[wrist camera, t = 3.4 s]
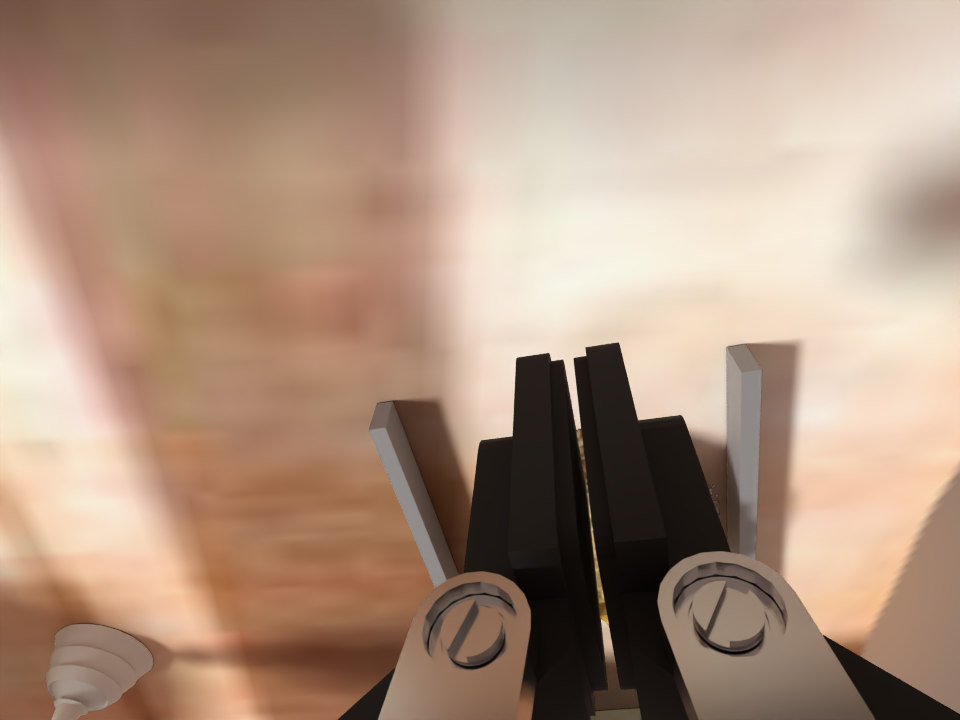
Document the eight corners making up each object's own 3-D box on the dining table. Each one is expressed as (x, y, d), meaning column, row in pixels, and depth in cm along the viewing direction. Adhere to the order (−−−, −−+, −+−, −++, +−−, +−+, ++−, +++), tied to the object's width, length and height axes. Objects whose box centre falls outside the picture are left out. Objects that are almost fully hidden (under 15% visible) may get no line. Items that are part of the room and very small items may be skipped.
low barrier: (376, 403, 21) (318, 587, 15) (745, 344, 19) (864, 527, 13) (505, 724, 33) (504, 903, 27) (739, 708, 31) (799, 897, 25)
